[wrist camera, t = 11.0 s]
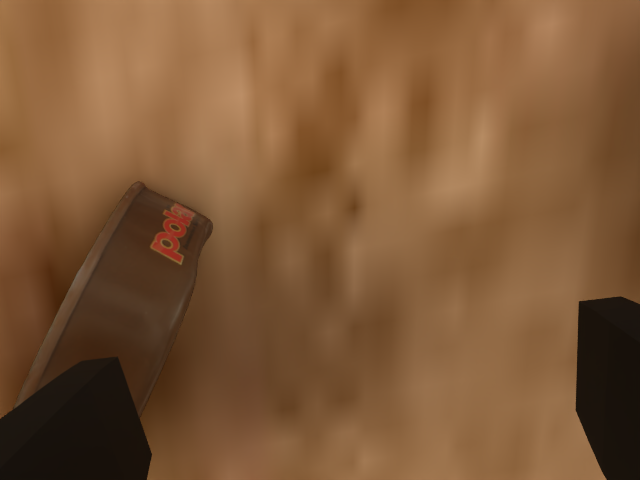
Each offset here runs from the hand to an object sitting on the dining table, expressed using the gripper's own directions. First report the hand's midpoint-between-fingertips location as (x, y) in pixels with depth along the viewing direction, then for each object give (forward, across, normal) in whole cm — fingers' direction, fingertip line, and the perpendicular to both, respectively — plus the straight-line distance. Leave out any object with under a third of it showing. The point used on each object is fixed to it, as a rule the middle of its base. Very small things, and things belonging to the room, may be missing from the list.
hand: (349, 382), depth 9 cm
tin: (+11, +9, +5) cm, 15 cm away
